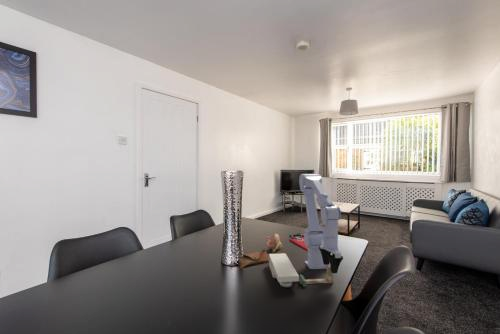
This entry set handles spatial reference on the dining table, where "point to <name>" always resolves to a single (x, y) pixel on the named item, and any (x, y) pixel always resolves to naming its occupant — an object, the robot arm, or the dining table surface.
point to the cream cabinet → (282, 268)
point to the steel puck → (285, 284)
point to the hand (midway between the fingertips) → (330, 268)
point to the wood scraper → (314, 281)
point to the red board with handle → (299, 240)
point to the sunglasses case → (253, 259)
